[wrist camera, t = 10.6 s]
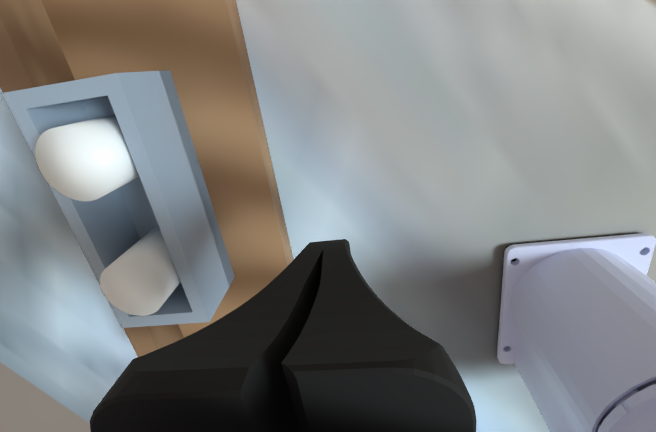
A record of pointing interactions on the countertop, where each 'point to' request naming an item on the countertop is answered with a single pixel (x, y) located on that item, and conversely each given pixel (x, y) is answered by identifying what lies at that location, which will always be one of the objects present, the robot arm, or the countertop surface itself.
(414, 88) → the countertop surface
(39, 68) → the shelf
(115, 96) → the tray
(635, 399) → the robot arm
